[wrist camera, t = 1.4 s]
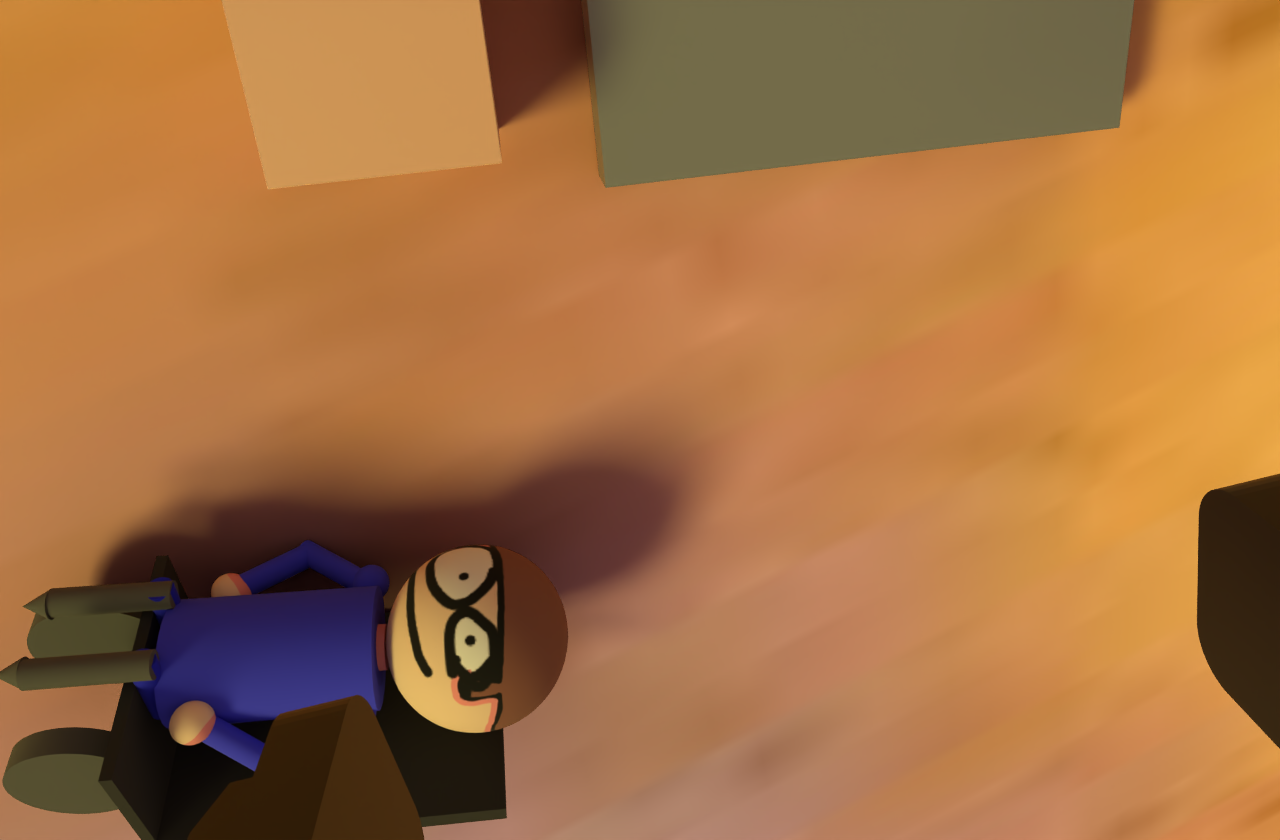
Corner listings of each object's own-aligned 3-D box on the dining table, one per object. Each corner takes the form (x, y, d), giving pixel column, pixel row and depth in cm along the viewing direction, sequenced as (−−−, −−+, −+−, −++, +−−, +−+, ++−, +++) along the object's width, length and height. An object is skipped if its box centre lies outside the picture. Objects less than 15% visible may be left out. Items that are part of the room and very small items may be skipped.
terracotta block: (305, 149, 26) (267, 189, 21) (257, -65, 24) (204, -71, 19) (498, 128, 26) (501, 163, 22) (468, -84, 24) (465, -95, 20)
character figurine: (41, 513, 29) (555, 492, 31) (83, 721, 32) (557, 687, 34) (-103, 666, 22) (581, 624, 24) (-34, 922, 24) (580, 861, 27)
